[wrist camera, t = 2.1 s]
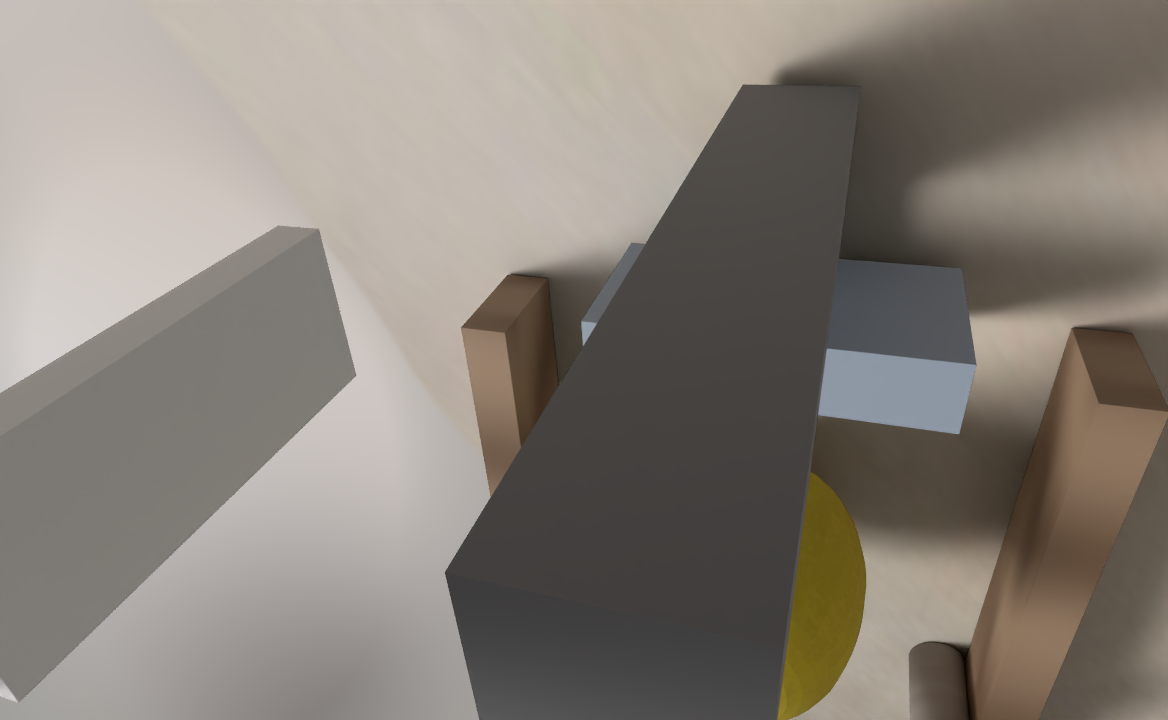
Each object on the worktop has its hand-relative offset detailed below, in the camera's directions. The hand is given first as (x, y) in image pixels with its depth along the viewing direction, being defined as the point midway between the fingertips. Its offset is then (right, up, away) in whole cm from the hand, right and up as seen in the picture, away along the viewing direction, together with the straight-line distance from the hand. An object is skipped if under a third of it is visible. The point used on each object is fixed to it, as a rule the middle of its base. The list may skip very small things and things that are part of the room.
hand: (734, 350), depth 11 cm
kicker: (+3, +3, +7) cm, 8 cm away
